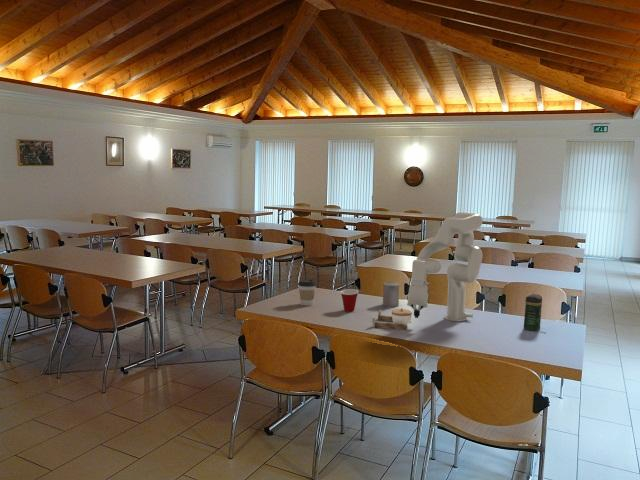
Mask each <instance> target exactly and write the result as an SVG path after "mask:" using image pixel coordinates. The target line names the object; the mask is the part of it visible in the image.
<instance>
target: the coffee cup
mask: <svg viewBox="0 0 640 480" xmlns="http://www.w3.org/2000/svg"><path fill="white" fill-rule="evenodd" d="M297 285H298V288H299V289H298V290H299V298H300V304H302V305H301V306H303V305H312V304H313V305H314V302H315V301H314V299H315V293H316V287H317V282H316V280H314V279H308V278H307V279H306V278H305V279H304V278H303V279H300V280H299V281H298V283H297ZM313 305H312V306H313Z"/></svg>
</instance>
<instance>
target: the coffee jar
mask: <svg viewBox="0 0 640 480" xmlns="http://www.w3.org/2000/svg"><path fill="white" fill-rule="evenodd" d="M524 304H525V307H524V318H523V329H524V330H527V331H530V332H533V331H535V332H537V331H539V330H540V329H541V321H542V319H541V317H542V307H543V297H542V296H541V295H540V294H537V293H532V294H528V295H527V296H525V303H524Z"/></svg>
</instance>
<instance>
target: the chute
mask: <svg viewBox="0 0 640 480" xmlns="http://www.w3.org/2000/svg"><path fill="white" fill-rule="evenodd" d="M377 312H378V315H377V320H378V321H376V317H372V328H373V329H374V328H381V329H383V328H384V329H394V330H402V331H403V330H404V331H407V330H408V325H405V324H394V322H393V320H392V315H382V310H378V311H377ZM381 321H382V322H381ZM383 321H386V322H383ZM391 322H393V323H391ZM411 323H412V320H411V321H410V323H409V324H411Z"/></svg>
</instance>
